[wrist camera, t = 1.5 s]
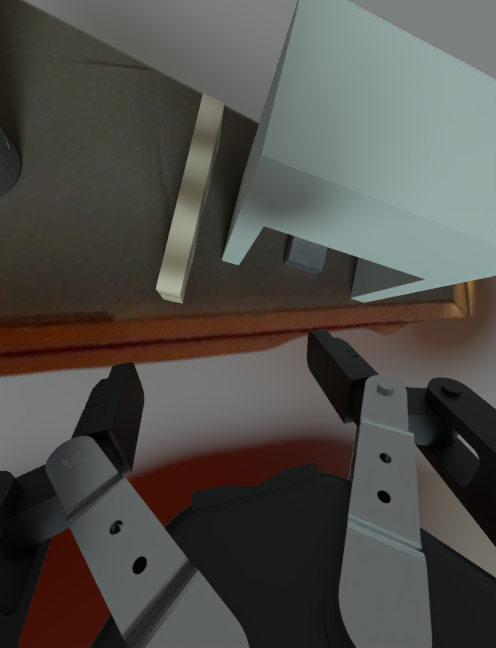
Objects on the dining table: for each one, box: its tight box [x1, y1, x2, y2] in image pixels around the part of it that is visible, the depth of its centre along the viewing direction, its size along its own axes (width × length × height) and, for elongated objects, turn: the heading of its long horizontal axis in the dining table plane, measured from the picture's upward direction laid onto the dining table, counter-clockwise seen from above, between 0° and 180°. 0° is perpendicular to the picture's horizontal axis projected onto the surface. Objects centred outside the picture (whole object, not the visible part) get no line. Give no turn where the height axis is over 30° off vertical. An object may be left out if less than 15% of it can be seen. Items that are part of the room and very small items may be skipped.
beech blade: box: [156, 93, 225, 303], centre depth 32 cm, size 22×2×8 cm, turn 168°
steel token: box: [283, 235, 327, 274], centre depth 37 cm, size 5×5×2 cm
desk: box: [222, 0, 496, 302], centre depth 28 cm, size 13×22×21 cm, turn 76°
